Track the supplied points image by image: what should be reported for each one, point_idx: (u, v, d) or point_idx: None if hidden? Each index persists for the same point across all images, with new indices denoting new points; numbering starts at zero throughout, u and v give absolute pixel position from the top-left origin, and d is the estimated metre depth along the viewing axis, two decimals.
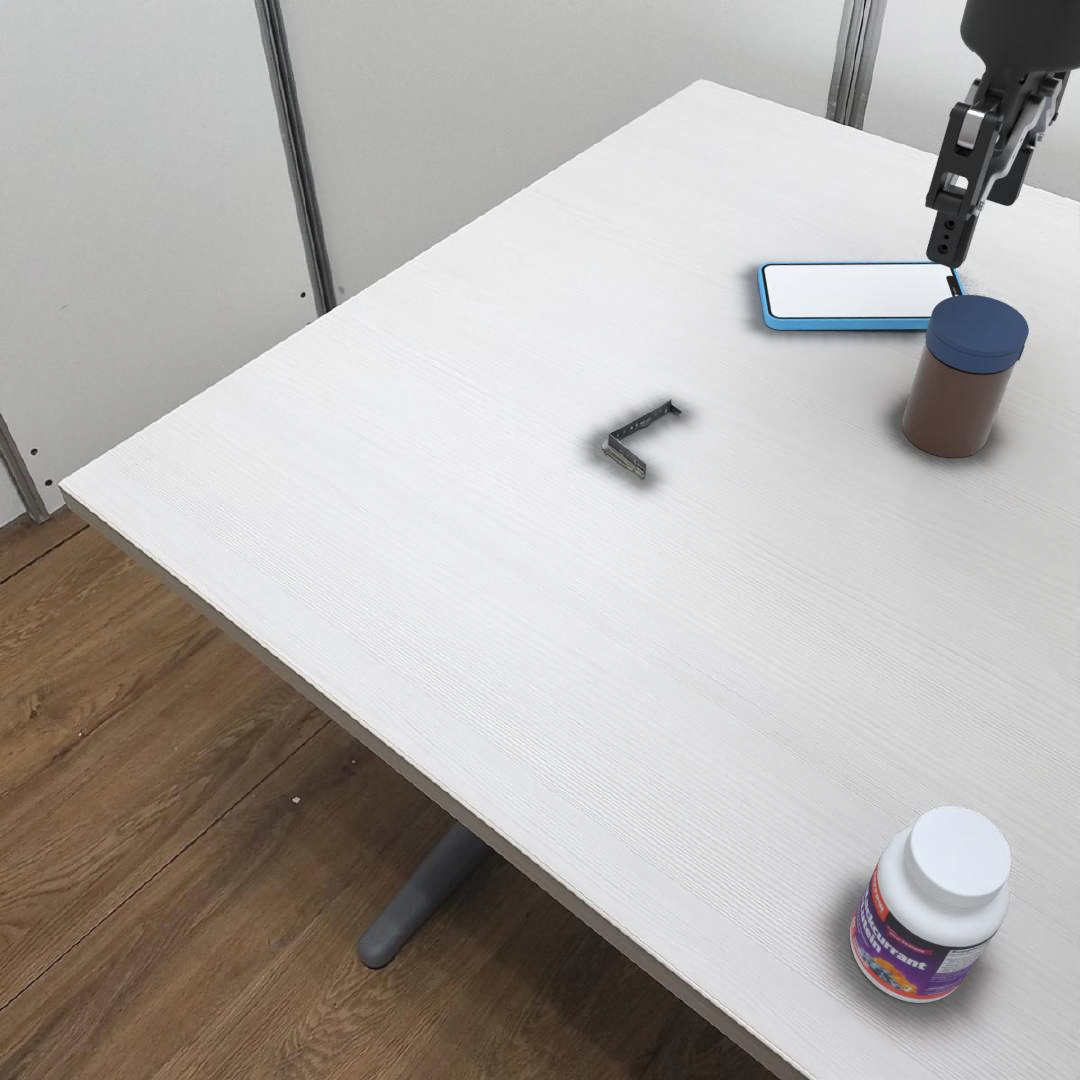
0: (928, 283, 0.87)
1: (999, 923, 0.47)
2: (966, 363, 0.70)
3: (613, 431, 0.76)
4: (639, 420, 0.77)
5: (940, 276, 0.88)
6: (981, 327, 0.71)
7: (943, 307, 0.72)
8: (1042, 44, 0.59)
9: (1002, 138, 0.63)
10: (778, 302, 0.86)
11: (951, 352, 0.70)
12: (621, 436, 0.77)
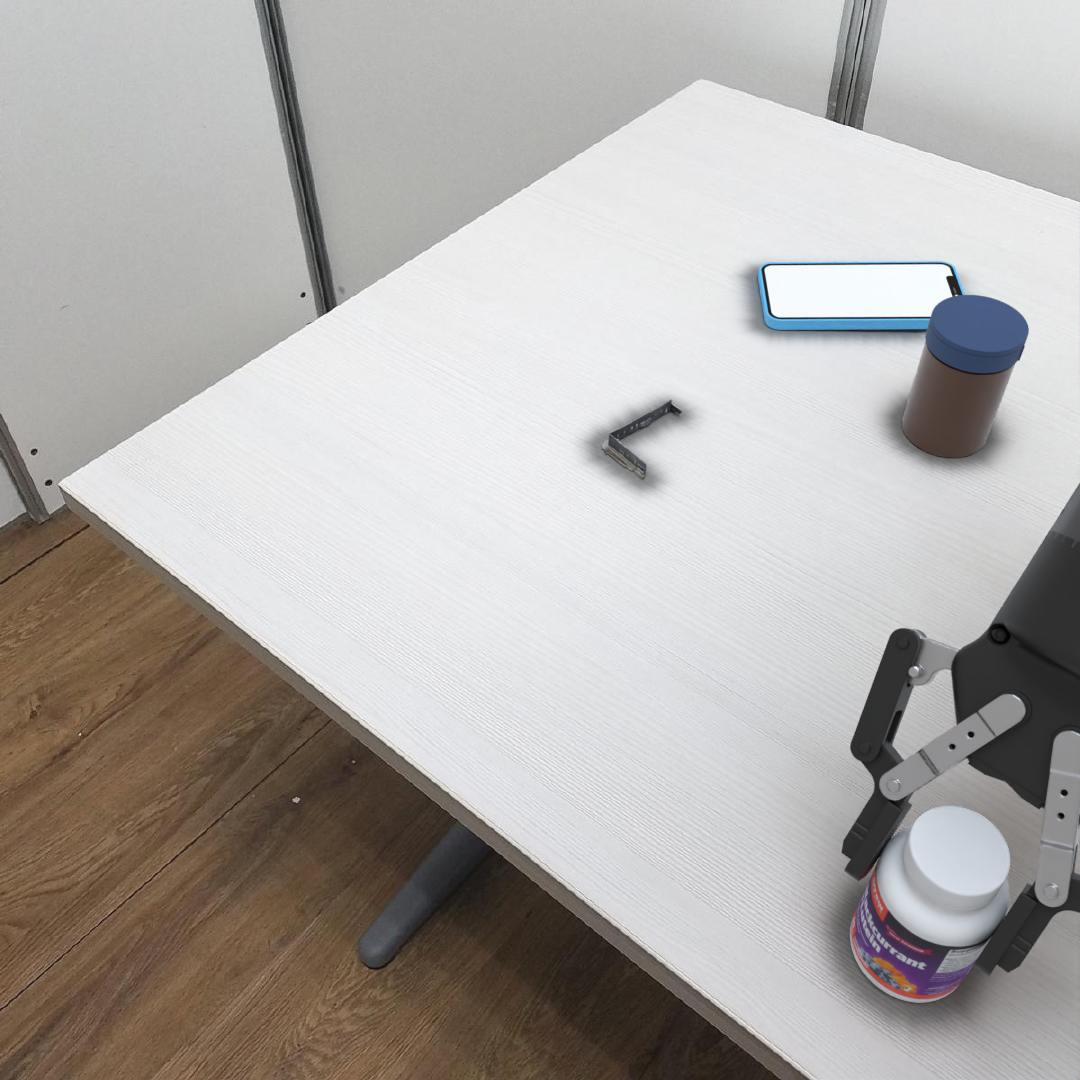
0: (928, 283, 0.87)
1: (998, 923, 0.47)
2: (966, 363, 0.70)
3: (613, 431, 0.76)
4: (639, 420, 0.77)
5: (940, 276, 0.88)
6: (981, 327, 0.71)
7: (943, 307, 0.72)
8: (1016, 590, 0.46)
9: (957, 713, 0.47)
10: (778, 302, 0.86)
11: (951, 352, 0.70)
12: (621, 436, 0.77)
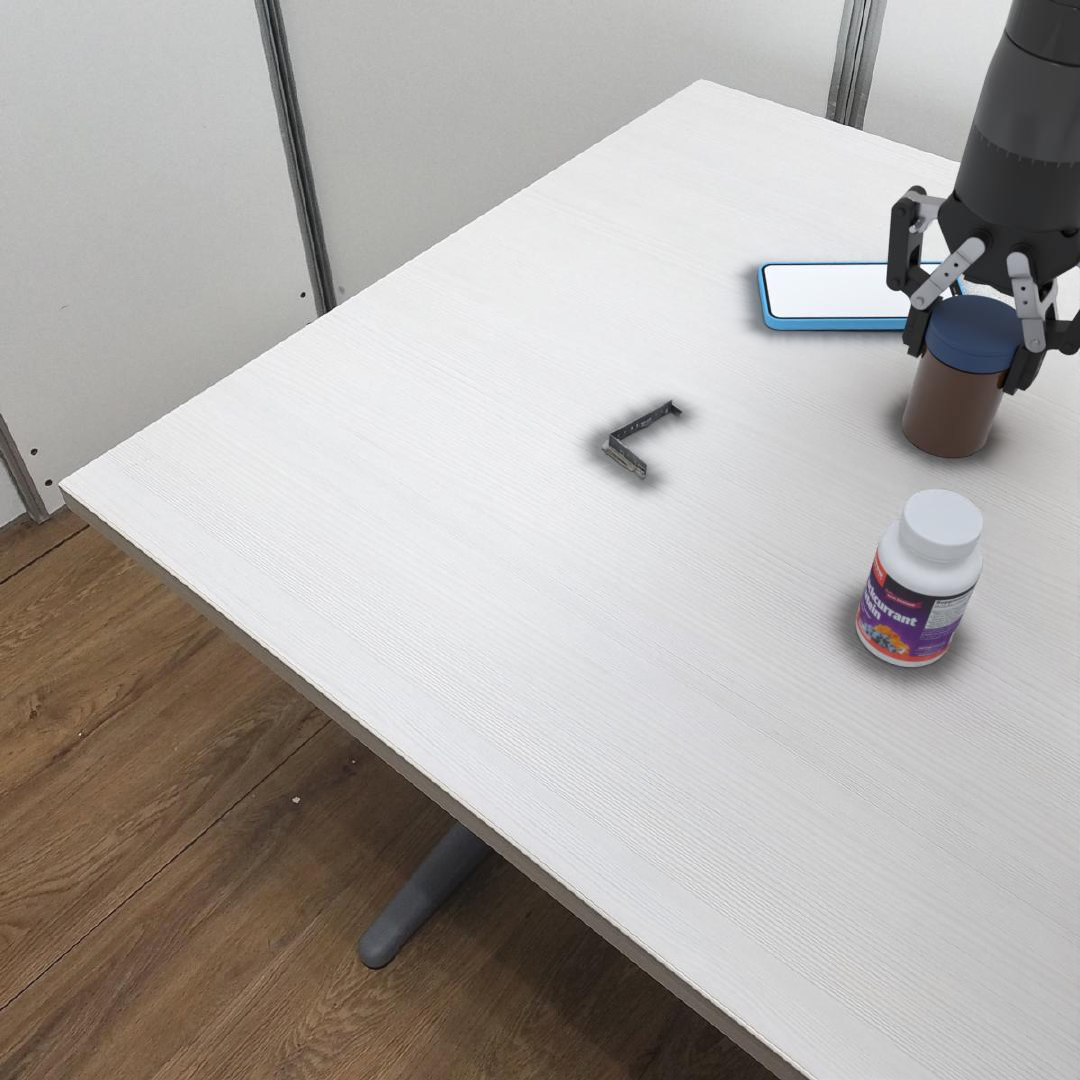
0: None
1: (974, 578, 0.59)
2: (966, 363, 0.70)
3: (613, 431, 0.76)
4: (640, 421, 0.77)
5: None
6: (981, 327, 0.71)
7: (943, 307, 0.72)
8: (960, 165, 0.64)
9: None
10: (778, 302, 0.86)
11: (951, 352, 0.70)
12: (622, 436, 0.77)
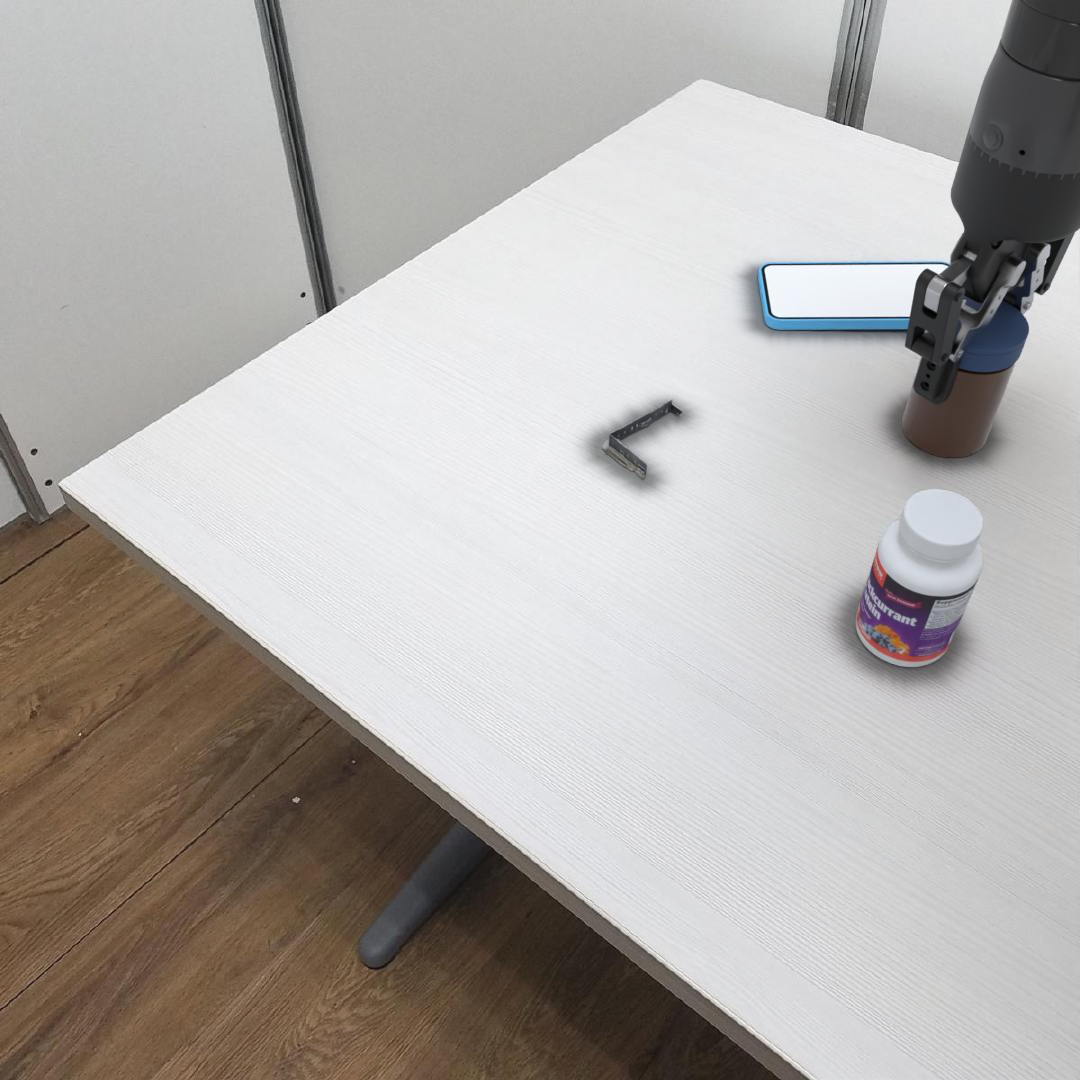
0: None
1: (974, 578, 0.59)
2: (1020, 352, 0.71)
3: (613, 431, 0.76)
4: (640, 421, 0.77)
5: None
6: None
7: None
8: (1012, 217, 0.62)
9: (979, 293, 0.67)
10: (778, 302, 0.86)
11: (1012, 355, 0.70)
12: (622, 436, 0.77)
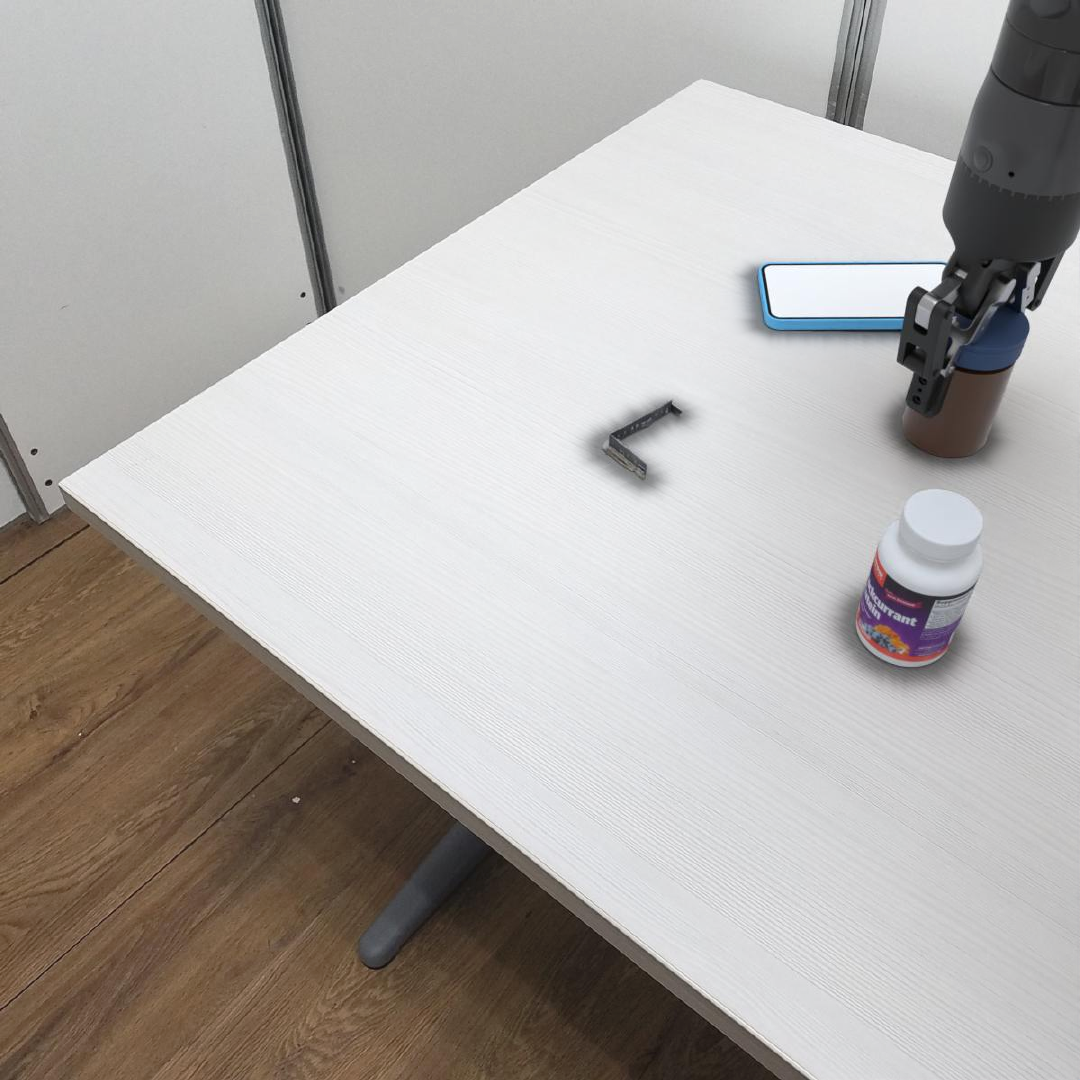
0: (928, 283, 0.87)
1: (974, 578, 0.59)
2: None
3: (614, 431, 0.76)
4: (640, 421, 0.77)
5: (940, 276, 0.88)
6: None
7: (1007, 341, 0.69)
8: (1002, 236, 0.63)
9: (969, 310, 0.68)
10: (778, 302, 0.86)
11: None
12: (622, 436, 0.77)
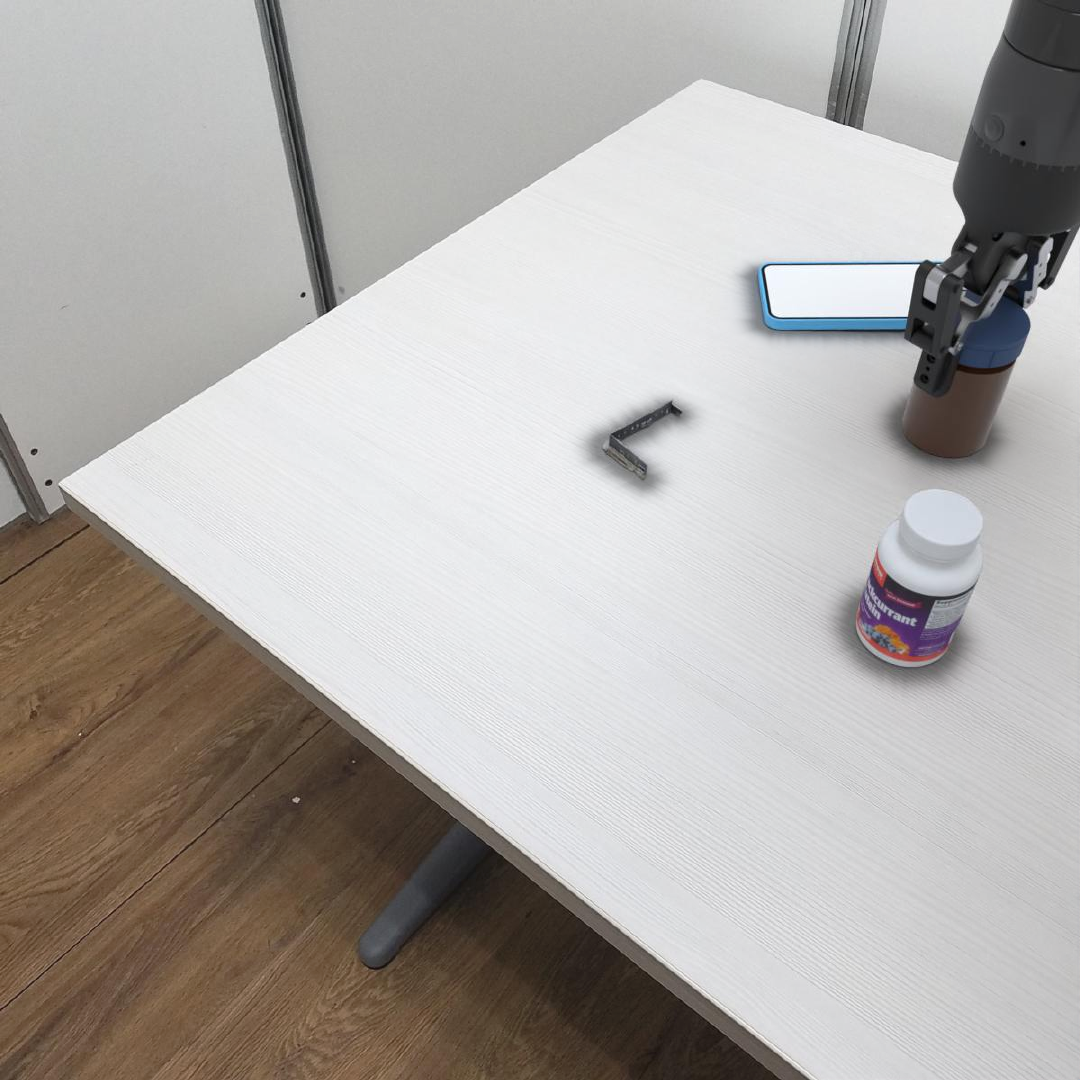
0: None
1: (974, 578, 0.59)
2: None
3: (614, 431, 0.76)
4: (640, 421, 0.77)
5: None
6: None
7: (971, 293, 0.72)
8: (1013, 208, 0.62)
9: (979, 285, 0.66)
10: (778, 302, 0.86)
11: None
12: (622, 437, 0.77)
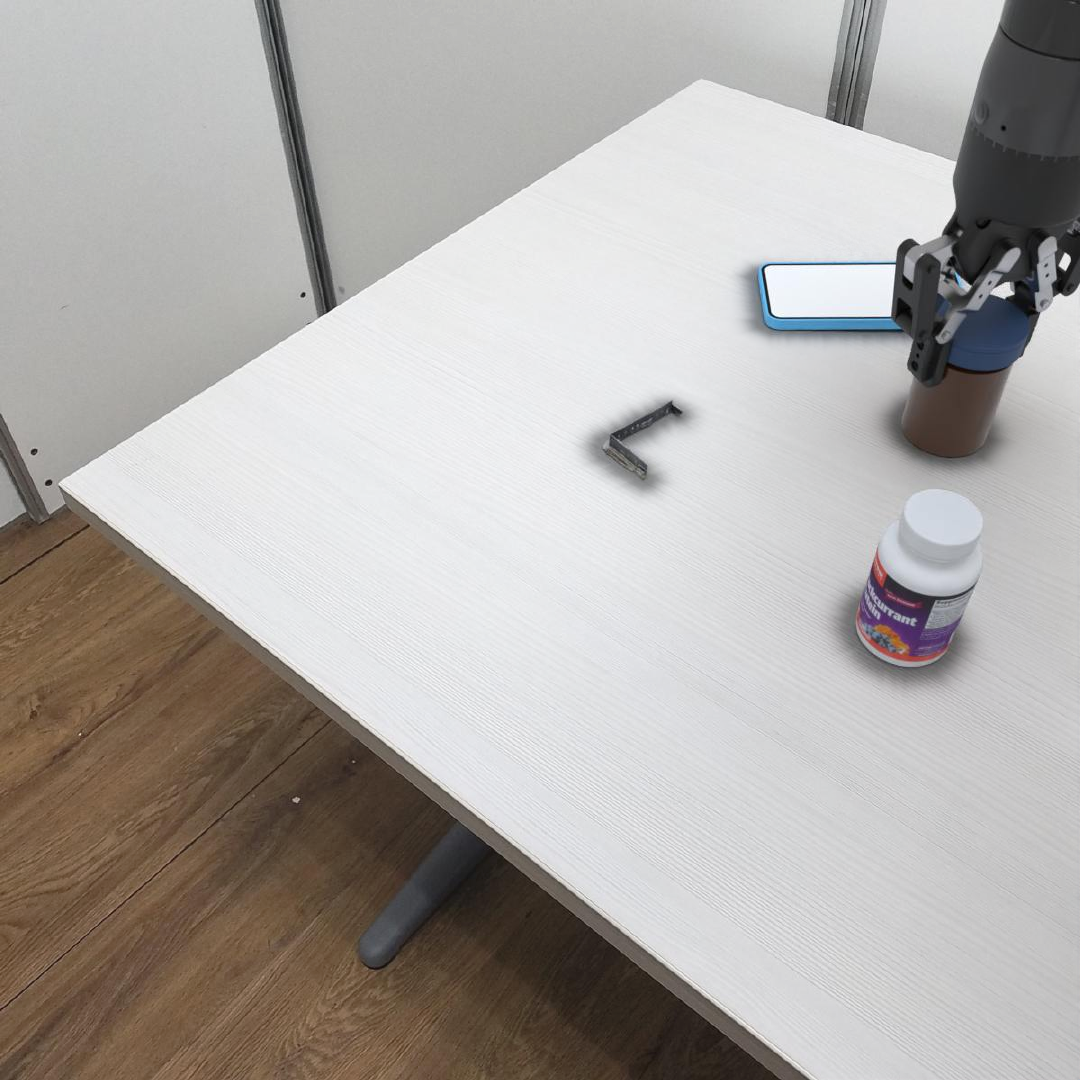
0: None
1: (974, 578, 0.59)
2: (1024, 344, 0.71)
3: (614, 431, 0.76)
4: (640, 421, 0.77)
5: None
6: (989, 319, 0.71)
7: (962, 338, 0.69)
8: (994, 195, 0.61)
9: (968, 274, 0.66)
10: (778, 302, 0.86)
11: (1020, 349, 0.70)
12: (622, 437, 0.77)
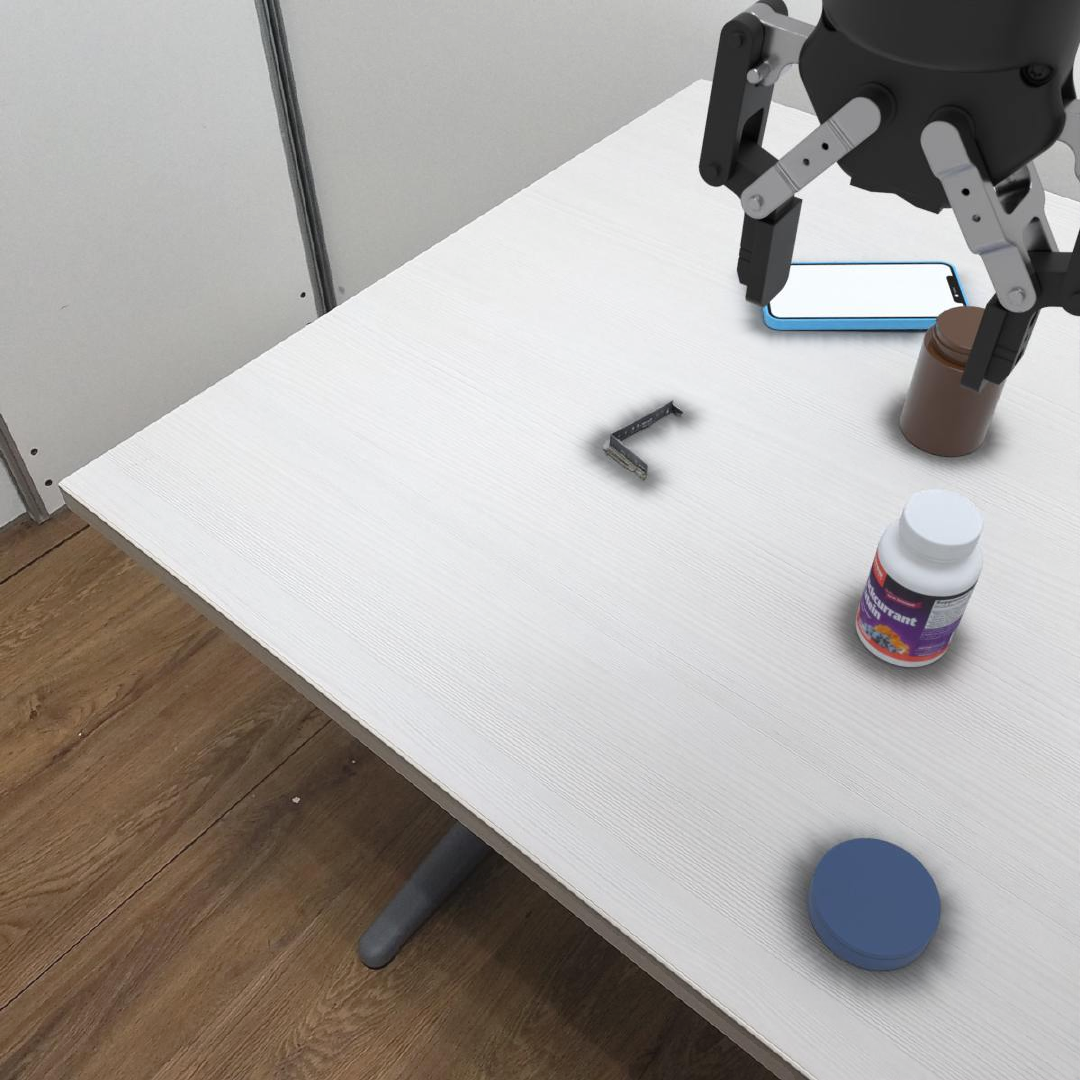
0: (928, 283, 0.87)
1: (974, 578, 0.59)
2: (891, 965, 0.52)
3: (614, 431, 0.76)
4: (640, 421, 0.77)
5: (940, 276, 0.88)
6: (883, 904, 0.53)
7: (823, 887, 0.54)
8: None
9: None
10: (778, 302, 0.86)
11: (869, 960, 0.52)
12: (622, 437, 0.77)
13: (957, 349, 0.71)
